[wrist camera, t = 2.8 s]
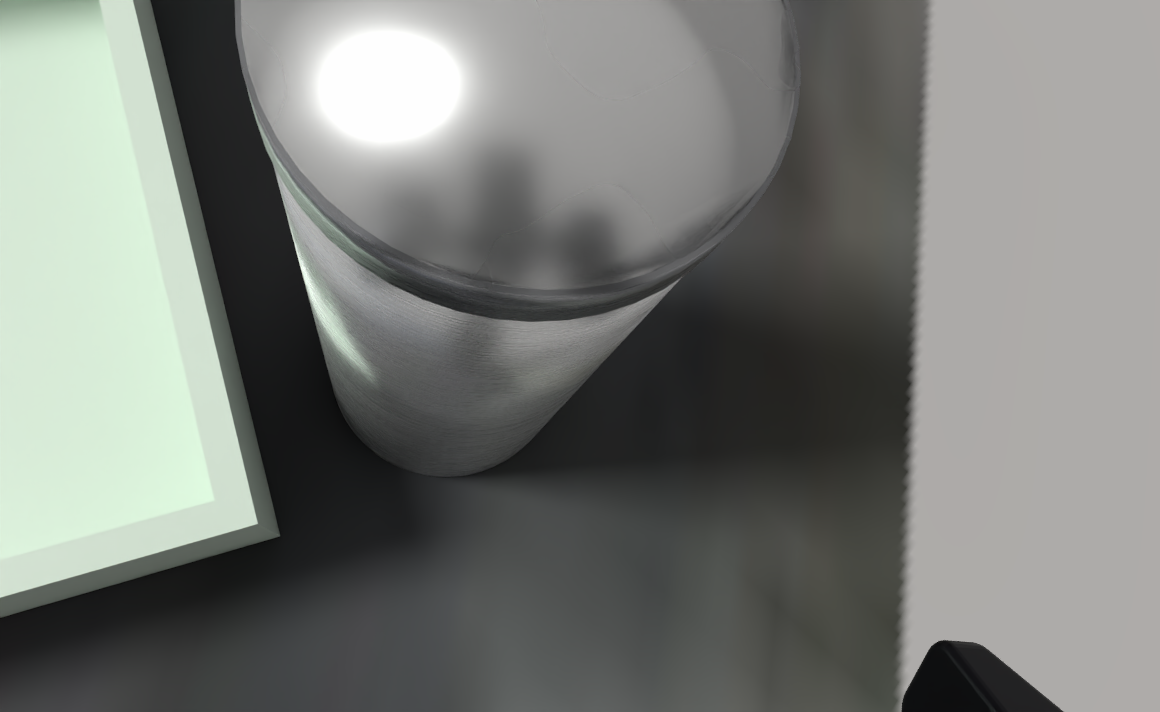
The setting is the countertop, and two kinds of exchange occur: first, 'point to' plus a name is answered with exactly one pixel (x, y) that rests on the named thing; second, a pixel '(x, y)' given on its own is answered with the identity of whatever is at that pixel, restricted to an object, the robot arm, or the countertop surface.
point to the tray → (109, 319)
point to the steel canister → (505, 190)
